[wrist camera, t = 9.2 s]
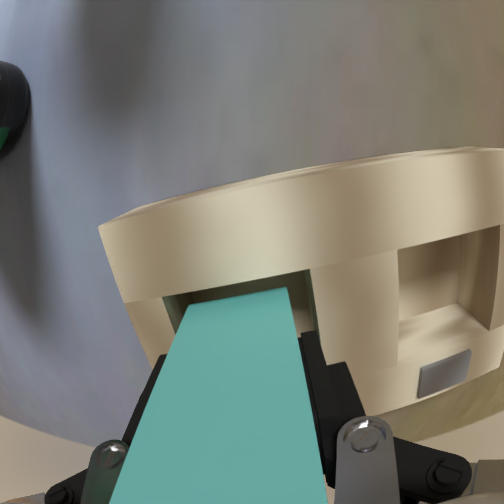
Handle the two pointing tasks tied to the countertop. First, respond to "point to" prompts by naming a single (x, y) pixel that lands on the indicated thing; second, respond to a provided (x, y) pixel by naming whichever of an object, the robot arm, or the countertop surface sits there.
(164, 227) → the socket block
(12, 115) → the supplement bottle
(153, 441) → the plug
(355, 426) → the robot arm
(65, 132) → the countertop surface
